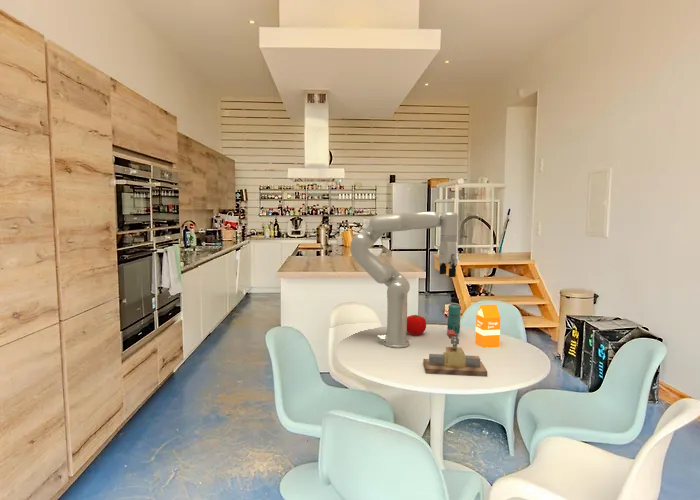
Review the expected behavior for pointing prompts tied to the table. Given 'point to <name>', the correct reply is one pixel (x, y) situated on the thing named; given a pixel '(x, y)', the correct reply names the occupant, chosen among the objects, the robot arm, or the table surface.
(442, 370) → the board
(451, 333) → the lever
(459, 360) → the valve
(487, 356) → the table surface
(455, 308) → the beverage bottle
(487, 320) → the orange juice
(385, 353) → the table surface
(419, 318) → the tomato
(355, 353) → the table surface
